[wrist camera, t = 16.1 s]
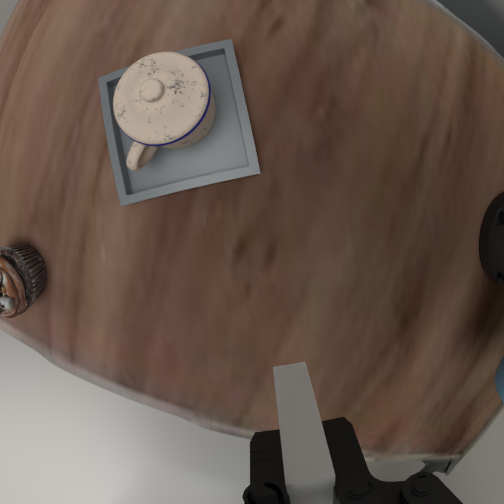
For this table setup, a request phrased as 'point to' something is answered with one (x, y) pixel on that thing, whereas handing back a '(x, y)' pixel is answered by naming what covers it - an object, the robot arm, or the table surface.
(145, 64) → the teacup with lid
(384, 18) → the table surface
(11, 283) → the cupcake
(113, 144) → the square tray
